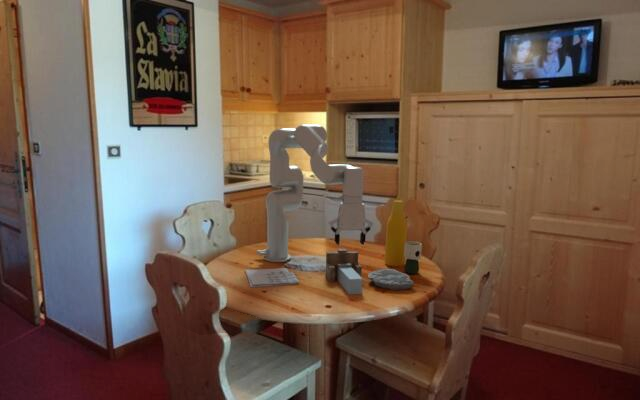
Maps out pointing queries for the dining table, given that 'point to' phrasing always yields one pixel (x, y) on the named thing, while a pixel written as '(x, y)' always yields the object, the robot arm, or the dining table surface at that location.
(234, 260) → the dining table surface
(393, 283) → the flat grey rock
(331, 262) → the notched brown block
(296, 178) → the robot arm
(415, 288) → the dining table surface
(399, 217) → the yellow bottle
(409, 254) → the character mug
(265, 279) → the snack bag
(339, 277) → the grey rectangular block
